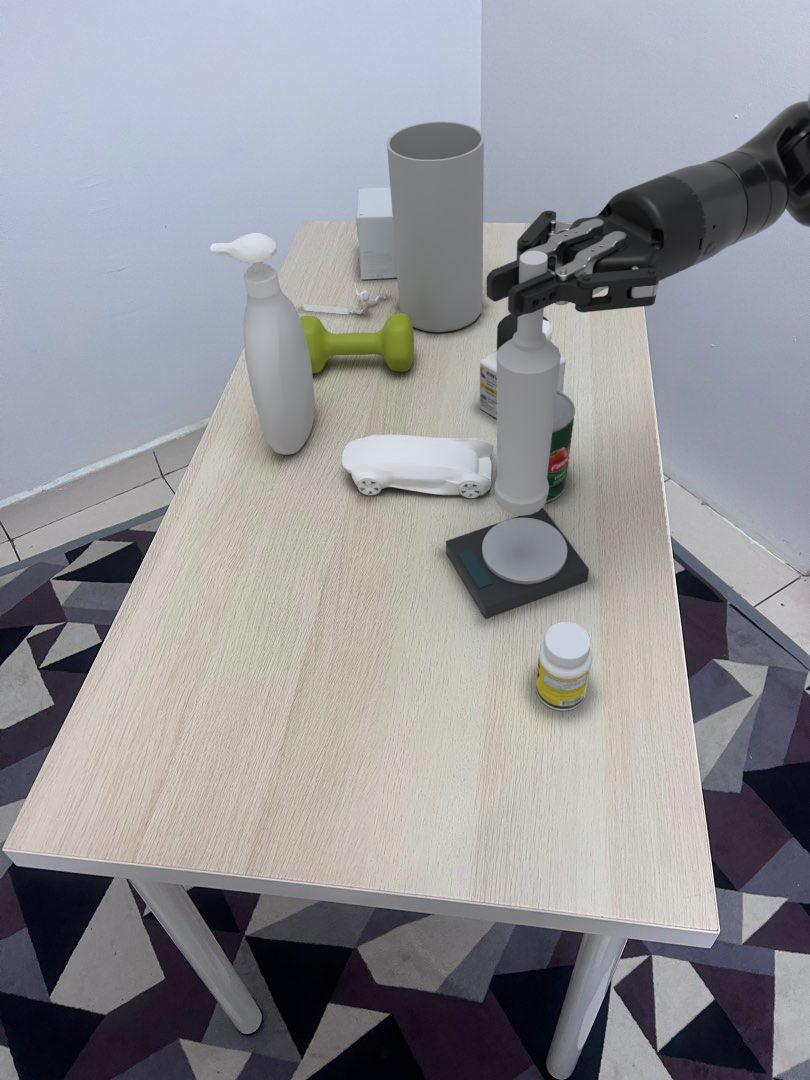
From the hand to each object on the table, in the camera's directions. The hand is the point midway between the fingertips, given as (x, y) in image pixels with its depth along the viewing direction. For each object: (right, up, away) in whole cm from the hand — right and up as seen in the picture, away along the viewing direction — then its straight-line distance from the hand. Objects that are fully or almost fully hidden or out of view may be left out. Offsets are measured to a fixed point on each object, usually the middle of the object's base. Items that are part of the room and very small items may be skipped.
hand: (501, 295), depth 59 cm
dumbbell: (-14, +7, +54) cm, 56 cm away
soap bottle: (-22, -4, +45) cm, 51 cm away
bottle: (+4, -14, +18) cm, 23 cm away
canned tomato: (+8, -11, +36) cm, 39 cm away
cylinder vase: (-2, +17, +62) cm, 64 cm away
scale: (+5, -21, +27) cm, 35 cm away
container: (+8, -1, +46) cm, 46 cm away
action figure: (-17, +18, +65) cm, 69 cm away
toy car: (-6, -10, +38) cm, 40 cm away
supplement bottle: (+8, -33, +17) cm, 37 cm away
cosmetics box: (-11, +28, +73) cm, 79 cm away
